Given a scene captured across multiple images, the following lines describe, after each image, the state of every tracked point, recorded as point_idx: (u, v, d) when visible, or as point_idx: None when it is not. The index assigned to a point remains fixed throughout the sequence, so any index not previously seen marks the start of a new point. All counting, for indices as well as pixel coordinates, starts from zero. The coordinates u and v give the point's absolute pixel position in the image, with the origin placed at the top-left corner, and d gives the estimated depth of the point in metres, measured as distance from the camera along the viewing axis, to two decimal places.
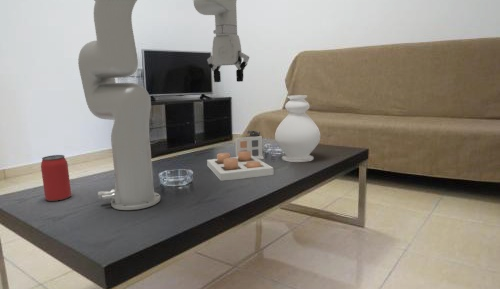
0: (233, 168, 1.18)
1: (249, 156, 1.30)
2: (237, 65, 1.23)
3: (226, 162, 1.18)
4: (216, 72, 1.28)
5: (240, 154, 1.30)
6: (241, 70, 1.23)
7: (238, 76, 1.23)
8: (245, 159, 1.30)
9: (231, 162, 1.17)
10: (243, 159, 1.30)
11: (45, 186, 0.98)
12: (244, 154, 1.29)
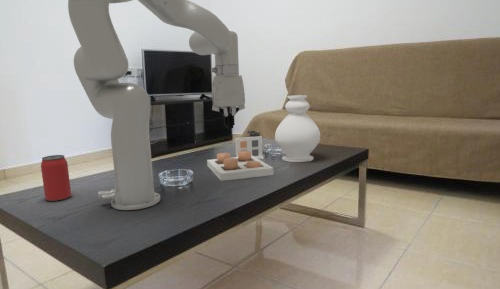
0: (233, 168, 1.18)
1: (249, 156, 1.30)
2: (234, 111, 1.16)
3: (226, 162, 1.18)
4: None
5: (240, 154, 1.30)
6: None
7: (232, 123, 1.17)
8: (245, 159, 1.30)
9: (231, 162, 1.17)
10: (243, 159, 1.30)
11: (45, 186, 0.98)
12: (244, 154, 1.29)
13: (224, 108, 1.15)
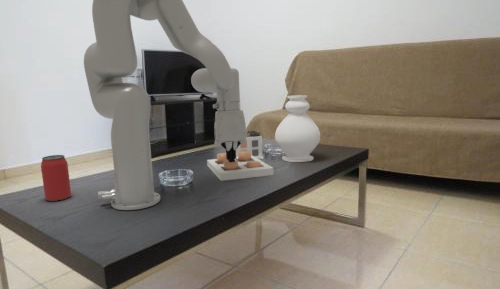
0: None
1: (249, 156, 1.30)
2: (235, 145, 1.18)
3: (226, 164, 1.18)
4: None
5: (240, 154, 1.30)
6: None
7: None
8: (245, 159, 1.30)
9: (231, 164, 1.18)
10: (243, 159, 1.30)
11: (45, 186, 0.98)
12: (244, 154, 1.29)
13: (226, 143, 1.17)
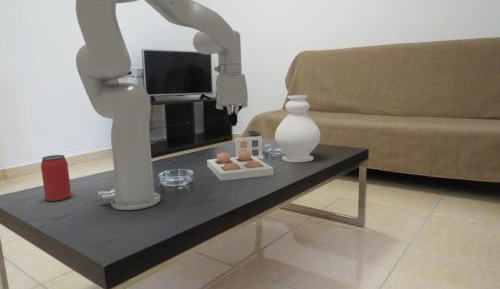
0: None
1: (249, 156, 1.30)
2: (237, 109, 1.18)
3: (226, 167, 1.18)
4: None
5: (240, 154, 1.30)
6: None
7: (235, 120, 1.19)
8: (245, 159, 1.30)
9: (231, 167, 1.18)
10: (243, 159, 1.30)
11: (45, 186, 0.98)
12: (244, 154, 1.29)
13: (227, 106, 1.17)
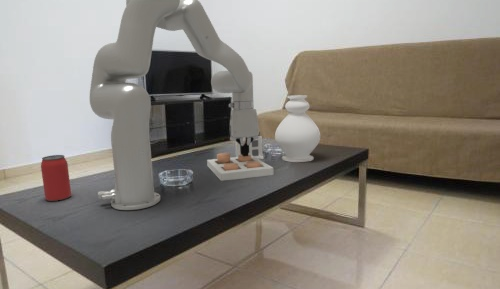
0: None
1: (249, 160, 1.30)
2: (249, 140, 1.30)
3: (226, 167, 1.18)
4: None
5: (240, 158, 1.30)
6: None
7: (247, 151, 1.31)
8: None
9: (231, 167, 1.18)
10: None
11: (45, 186, 0.98)
12: (244, 158, 1.29)
13: (240, 138, 1.29)
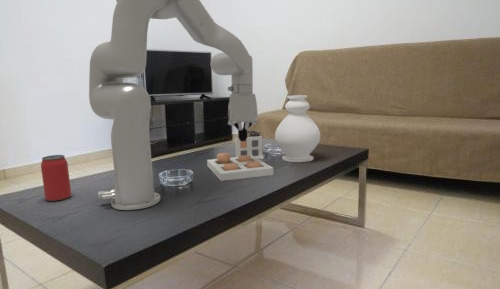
0: None
1: None
2: (247, 125, 1.28)
3: (226, 167, 1.18)
4: None
5: (240, 159, 1.30)
6: None
7: (245, 136, 1.29)
8: None
9: (231, 167, 1.18)
10: None
11: (45, 186, 0.98)
12: (244, 159, 1.30)
13: (239, 123, 1.27)
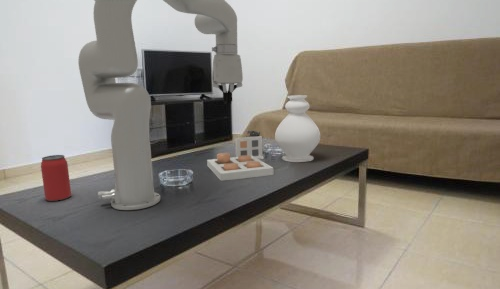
0: None
1: None
2: (232, 87, 1.26)
3: (226, 167, 1.18)
4: None
5: (240, 159, 1.30)
6: None
7: None
8: None
9: (231, 167, 1.18)
10: None
11: (45, 186, 0.98)
12: (244, 159, 1.30)
13: (223, 85, 1.25)
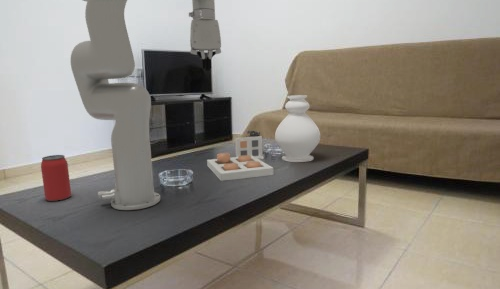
0: None
1: None
2: (210, 54, 1.24)
3: (226, 167, 1.18)
4: None
5: (240, 159, 1.30)
6: (210, 59, 1.25)
7: None
8: None
9: (231, 167, 1.18)
10: None
11: (45, 186, 0.98)
12: (244, 159, 1.30)
13: (201, 51, 1.22)
